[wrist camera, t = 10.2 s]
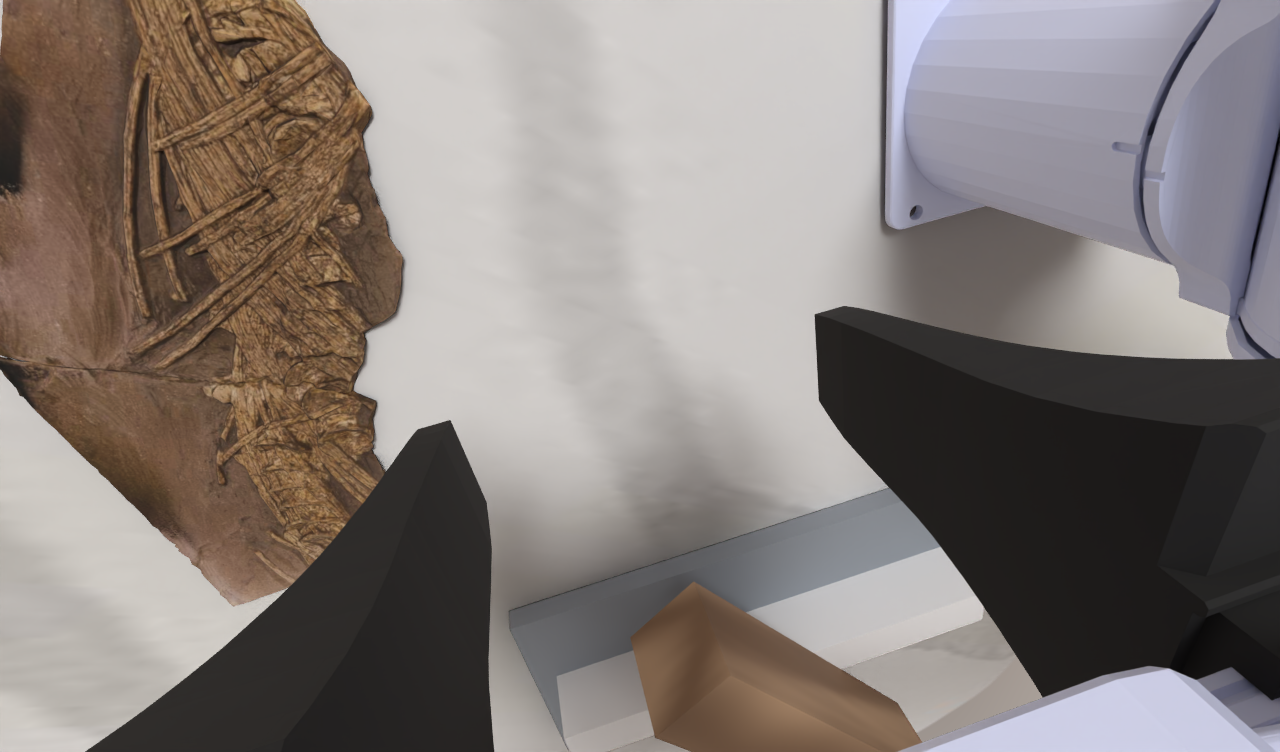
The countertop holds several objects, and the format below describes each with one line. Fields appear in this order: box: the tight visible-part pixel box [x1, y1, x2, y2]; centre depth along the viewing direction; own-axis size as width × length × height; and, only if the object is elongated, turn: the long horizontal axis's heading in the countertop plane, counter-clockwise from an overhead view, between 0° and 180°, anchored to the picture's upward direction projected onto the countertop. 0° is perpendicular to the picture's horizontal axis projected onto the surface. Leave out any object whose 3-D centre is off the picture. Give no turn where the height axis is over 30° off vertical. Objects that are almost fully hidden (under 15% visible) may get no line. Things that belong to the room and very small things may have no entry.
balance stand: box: [509, 488, 984, 752], centre depth 29 cm, size 22×10×4 cm, turn 101°
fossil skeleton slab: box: [0, 0, 403, 607], centre depth 18 cm, size 26×11×1 cm, turn 170°
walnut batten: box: [630, 582, 922, 752], centre depth 25 cm, size 4×16×4 cm, turn 44°
